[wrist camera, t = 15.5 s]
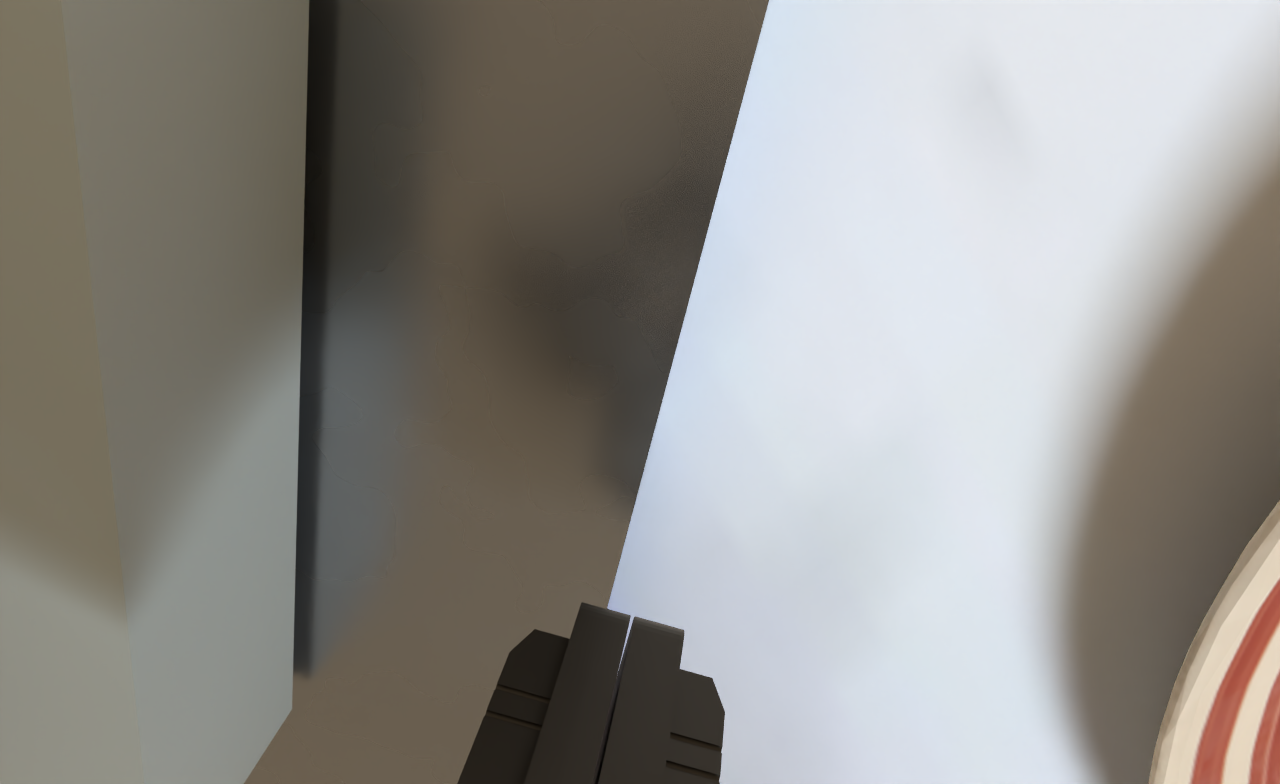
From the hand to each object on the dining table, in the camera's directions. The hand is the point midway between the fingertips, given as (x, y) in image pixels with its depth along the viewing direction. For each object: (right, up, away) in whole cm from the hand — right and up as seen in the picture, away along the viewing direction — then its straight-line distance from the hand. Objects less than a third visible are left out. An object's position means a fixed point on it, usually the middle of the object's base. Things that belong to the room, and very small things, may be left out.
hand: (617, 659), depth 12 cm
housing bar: (-6, +4, +1) cm, 8 cm away
